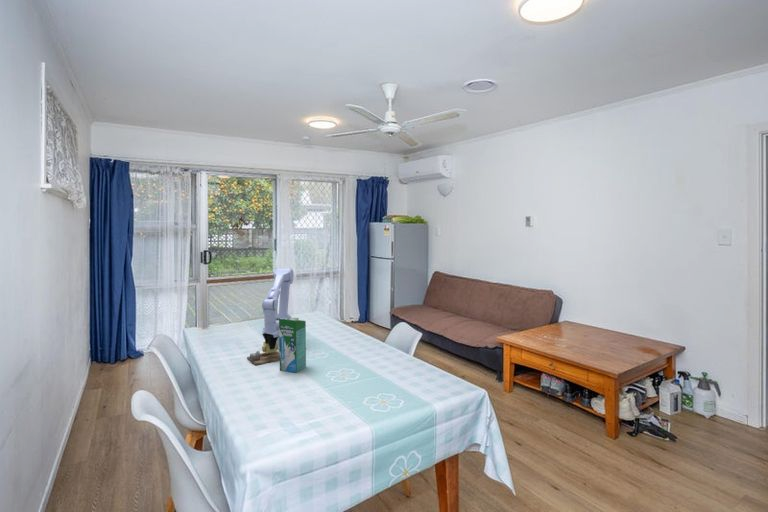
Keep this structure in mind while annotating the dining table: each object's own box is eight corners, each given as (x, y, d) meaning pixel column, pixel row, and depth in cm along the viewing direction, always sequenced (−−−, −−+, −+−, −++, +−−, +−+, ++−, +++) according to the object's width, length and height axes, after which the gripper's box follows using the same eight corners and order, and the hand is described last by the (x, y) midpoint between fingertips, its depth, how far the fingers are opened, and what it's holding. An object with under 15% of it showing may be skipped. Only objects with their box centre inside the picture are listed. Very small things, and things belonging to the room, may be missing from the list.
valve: (275, 349, 208) (275, 338, 207) (278, 351, 204) (278, 340, 204) (261, 351, 203) (261, 340, 202) (264, 353, 200) (264, 342, 199)
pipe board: (276, 352, 212) (276, 343, 212) (286, 359, 203) (286, 349, 203) (247, 358, 203) (246, 349, 202) (255, 365, 193) (255, 355, 193)
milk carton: (306, 366, 193) (305, 316, 191) (296, 373, 184) (295, 320, 182) (290, 364, 196) (289, 314, 194) (279, 370, 187) (278, 318, 185)
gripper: (257, 320, 206) (257, 345, 207) (268, 326, 194) (268, 353, 196) (270, 318, 210) (270, 343, 211) (281, 323, 199) (282, 350, 200)
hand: (270, 347), depth 204 cm, fingers closed on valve, 4 cm apart
